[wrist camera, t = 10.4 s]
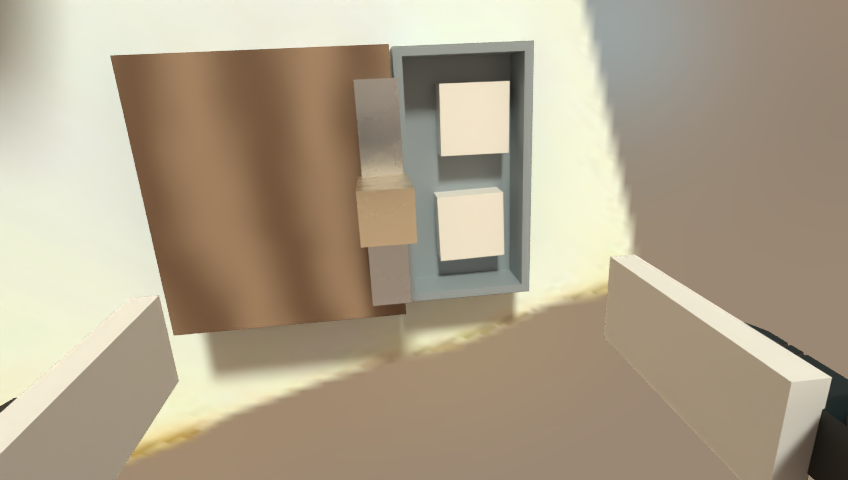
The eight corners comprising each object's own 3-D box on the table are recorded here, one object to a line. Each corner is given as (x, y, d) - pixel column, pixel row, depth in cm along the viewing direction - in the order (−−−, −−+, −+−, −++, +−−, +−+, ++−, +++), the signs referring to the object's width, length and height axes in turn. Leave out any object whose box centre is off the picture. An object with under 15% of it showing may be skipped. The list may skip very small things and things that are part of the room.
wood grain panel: (201, 299, 39) (173, 335, 33) (153, 61, 34) (110, 55, 28) (400, 282, 41) (405, 313, 35) (385, 51, 35) (388, 44, 29)
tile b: (508, 152, 36) (501, 149, 38) (509, 81, 34) (502, 81, 36) (441, 156, 35) (437, 152, 37) (439, 83, 34) (435, 83, 36)
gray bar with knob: (369, 291, 34) (369, 340, 27) (350, 80, 30) (345, 78, 23) (411, 287, 34) (422, 335, 28) (399, 78, 30) (408, 75, 23)
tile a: (504, 254, 38) (497, 246, 40) (503, 192, 36) (496, 186, 38) (440, 261, 38) (437, 252, 39) (437, 197, 36) (433, 192, 38)
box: (404, 281, 41) (407, 301, 37) (389, 51, 35) (392, 46, 31) (514, 272, 41) (529, 291, 38) (516, 45, 36) (533, 40, 32)
